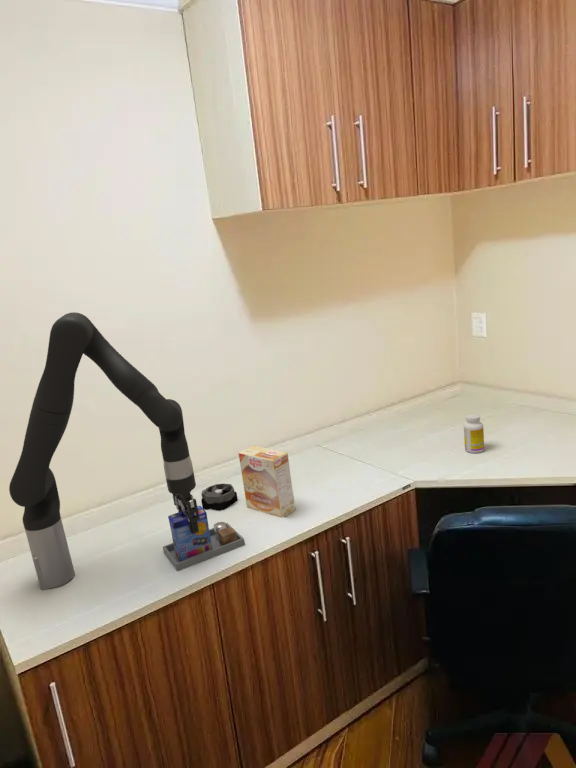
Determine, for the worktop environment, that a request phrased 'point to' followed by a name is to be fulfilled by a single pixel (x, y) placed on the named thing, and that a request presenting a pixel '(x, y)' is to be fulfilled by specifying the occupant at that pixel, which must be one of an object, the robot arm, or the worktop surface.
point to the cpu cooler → (218, 497)
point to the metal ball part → (219, 528)
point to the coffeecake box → (267, 481)
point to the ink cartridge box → (190, 535)
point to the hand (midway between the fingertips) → (189, 526)
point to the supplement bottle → (473, 434)
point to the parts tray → (215, 551)
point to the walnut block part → (226, 536)
